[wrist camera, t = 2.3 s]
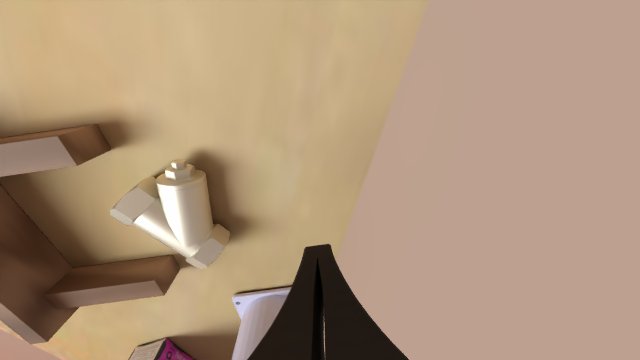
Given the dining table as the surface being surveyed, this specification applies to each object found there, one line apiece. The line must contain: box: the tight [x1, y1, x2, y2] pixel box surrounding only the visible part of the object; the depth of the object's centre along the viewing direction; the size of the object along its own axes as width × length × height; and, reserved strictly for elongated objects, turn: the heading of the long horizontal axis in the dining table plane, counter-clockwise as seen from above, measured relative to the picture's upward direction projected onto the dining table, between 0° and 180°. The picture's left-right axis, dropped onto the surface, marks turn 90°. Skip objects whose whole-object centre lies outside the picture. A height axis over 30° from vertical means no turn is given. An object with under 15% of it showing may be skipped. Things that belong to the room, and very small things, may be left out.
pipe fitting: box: [110, 159, 230, 269], centre depth 19 cm, size 8×4×7 cm
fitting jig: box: [0, 124, 180, 344], centre depth 18 cm, size 18×12×5 cm, turn 8°
